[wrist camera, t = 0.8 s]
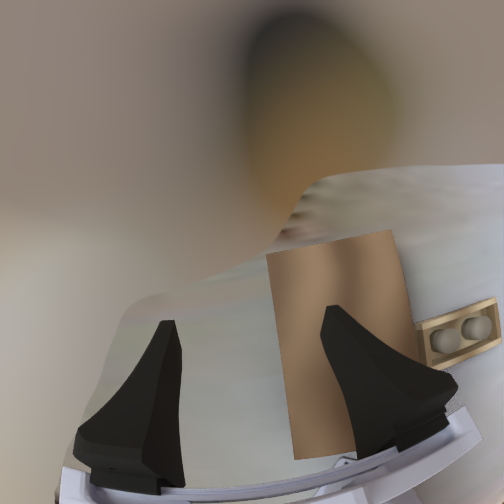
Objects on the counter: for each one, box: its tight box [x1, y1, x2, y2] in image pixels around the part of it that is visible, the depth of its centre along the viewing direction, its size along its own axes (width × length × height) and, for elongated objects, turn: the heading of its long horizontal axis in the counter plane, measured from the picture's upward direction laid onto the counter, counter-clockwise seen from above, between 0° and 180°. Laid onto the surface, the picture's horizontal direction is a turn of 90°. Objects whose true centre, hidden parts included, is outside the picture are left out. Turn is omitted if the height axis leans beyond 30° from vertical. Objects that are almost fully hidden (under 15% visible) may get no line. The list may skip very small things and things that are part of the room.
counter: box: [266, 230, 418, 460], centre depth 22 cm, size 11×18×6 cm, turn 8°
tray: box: [413, 297, 502, 370], centre depth 21 cm, size 10×5×4 cm, turn 98°
